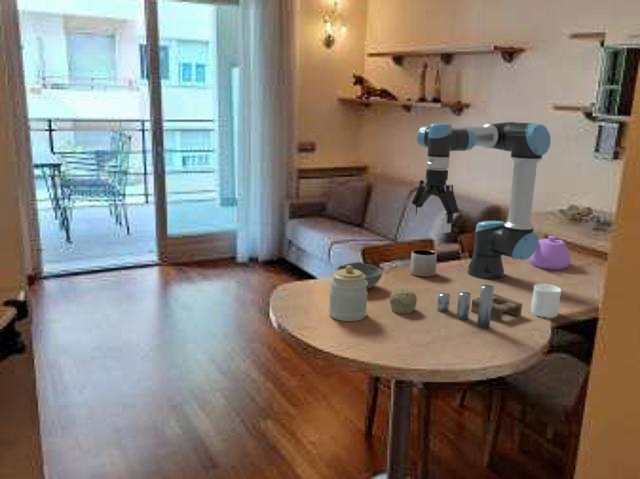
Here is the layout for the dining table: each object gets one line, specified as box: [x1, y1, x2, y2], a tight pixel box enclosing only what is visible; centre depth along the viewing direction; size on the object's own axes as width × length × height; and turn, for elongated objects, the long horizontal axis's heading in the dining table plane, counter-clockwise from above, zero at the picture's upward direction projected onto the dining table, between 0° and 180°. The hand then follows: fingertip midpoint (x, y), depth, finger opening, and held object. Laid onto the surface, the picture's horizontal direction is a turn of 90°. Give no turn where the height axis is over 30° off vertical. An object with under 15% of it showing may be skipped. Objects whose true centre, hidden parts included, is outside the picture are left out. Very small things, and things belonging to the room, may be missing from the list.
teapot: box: [528, 235, 571, 271], centre depth 270 cm, size 25×18×14 cm
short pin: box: [436, 292, 451, 313], centre depth 209 cm, size 4×4×6 cm
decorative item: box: [389, 288, 418, 314], centre depth 208 cm, size 10×10×10 cm
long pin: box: [476, 284, 495, 330], centre depth 194 cm, size 4×4×14 cm
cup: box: [530, 282, 562, 319], centre depth 208 cm, size 10×10×10 cm
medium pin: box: [456, 291, 472, 322], centre depth 201 cm, size 4×4×9 cm
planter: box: [409, 248, 438, 278], centre depth 252 cm, size 11×11×10 cm
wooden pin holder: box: [470, 293, 523, 323], centre depth 208 cm, size 12×12×4 cm
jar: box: [328, 265, 368, 322], centre depth 200 cm, size 13×13×18 cm
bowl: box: [336, 261, 383, 290], centre depth 231 cm, size 18×18×8 cm
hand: (432, 228), depth 210 cm, fingers open, 13 cm apart
